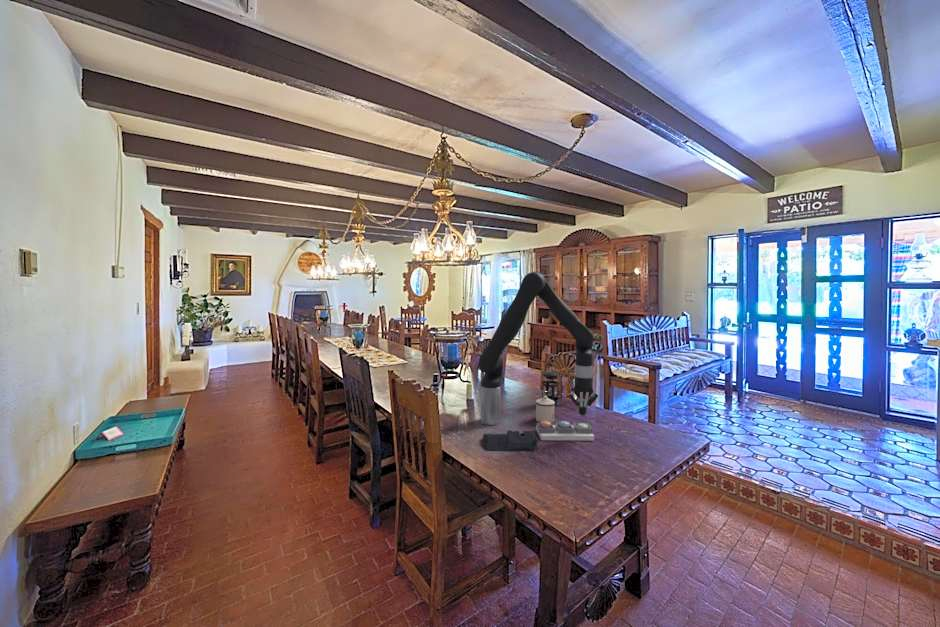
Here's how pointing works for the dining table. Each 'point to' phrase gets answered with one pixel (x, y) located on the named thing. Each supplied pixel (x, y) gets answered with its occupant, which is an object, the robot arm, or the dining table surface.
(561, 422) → the slate button
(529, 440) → the dark slate chunk
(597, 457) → the dining table surface
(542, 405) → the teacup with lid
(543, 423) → the terracotta button
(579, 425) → the sage button
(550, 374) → the french press
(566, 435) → the button panel
